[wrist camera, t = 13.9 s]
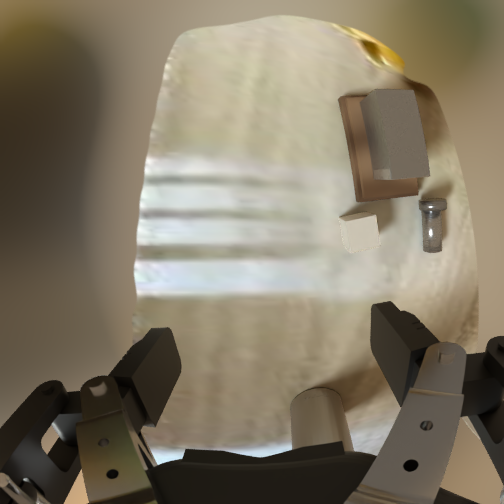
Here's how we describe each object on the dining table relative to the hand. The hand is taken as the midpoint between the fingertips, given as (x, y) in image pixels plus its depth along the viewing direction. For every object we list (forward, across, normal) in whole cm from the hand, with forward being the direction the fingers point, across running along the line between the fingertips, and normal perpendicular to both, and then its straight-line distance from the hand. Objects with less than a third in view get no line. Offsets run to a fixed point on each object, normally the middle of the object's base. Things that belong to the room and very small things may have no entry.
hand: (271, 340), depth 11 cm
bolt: (+28, -23, +2) cm, 36 cm away
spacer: (+28, -11, +1) cm, 30 cm away
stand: (+27, -16, -10) cm, 33 cm away
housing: (+25, -16, -10) cm, 31 cm away
